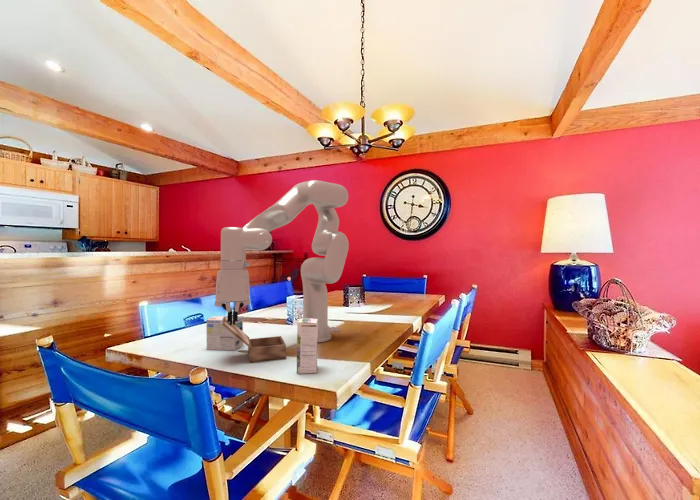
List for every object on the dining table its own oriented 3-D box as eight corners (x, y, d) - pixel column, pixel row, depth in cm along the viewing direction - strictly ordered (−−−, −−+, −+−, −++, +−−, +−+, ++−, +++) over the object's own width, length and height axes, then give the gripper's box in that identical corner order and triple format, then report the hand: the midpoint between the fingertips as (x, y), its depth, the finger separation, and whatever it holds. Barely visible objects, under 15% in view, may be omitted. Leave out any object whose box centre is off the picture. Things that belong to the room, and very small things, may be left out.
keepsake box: (281, 348, 113) (281, 336, 113) (285, 358, 103) (285, 344, 103) (248, 352, 110) (248, 339, 110) (249, 363, 99) (249, 348, 99)
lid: (224, 316, 107) (223, 317, 107) (224, 323, 97) (222, 324, 97) (249, 337, 109) (248, 339, 109) (251, 346, 100) (249, 348, 99)
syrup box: (298, 366, 96) (298, 318, 96) (317, 366, 97) (317, 317, 97) (296, 374, 91) (296, 322, 91) (317, 373, 91) (317, 322, 91)
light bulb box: (243, 345, 118) (243, 315, 118) (235, 351, 111) (235, 319, 111) (215, 344, 119) (215, 315, 119) (205, 350, 112) (205, 319, 112)
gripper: (256, 265, 109) (256, 320, 109) (208, 265, 103) (207, 323, 103) (258, 266, 102) (257, 324, 101) (206, 266, 96) (205, 328, 96)
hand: (232, 323), depth 102 cm, fingers closed
